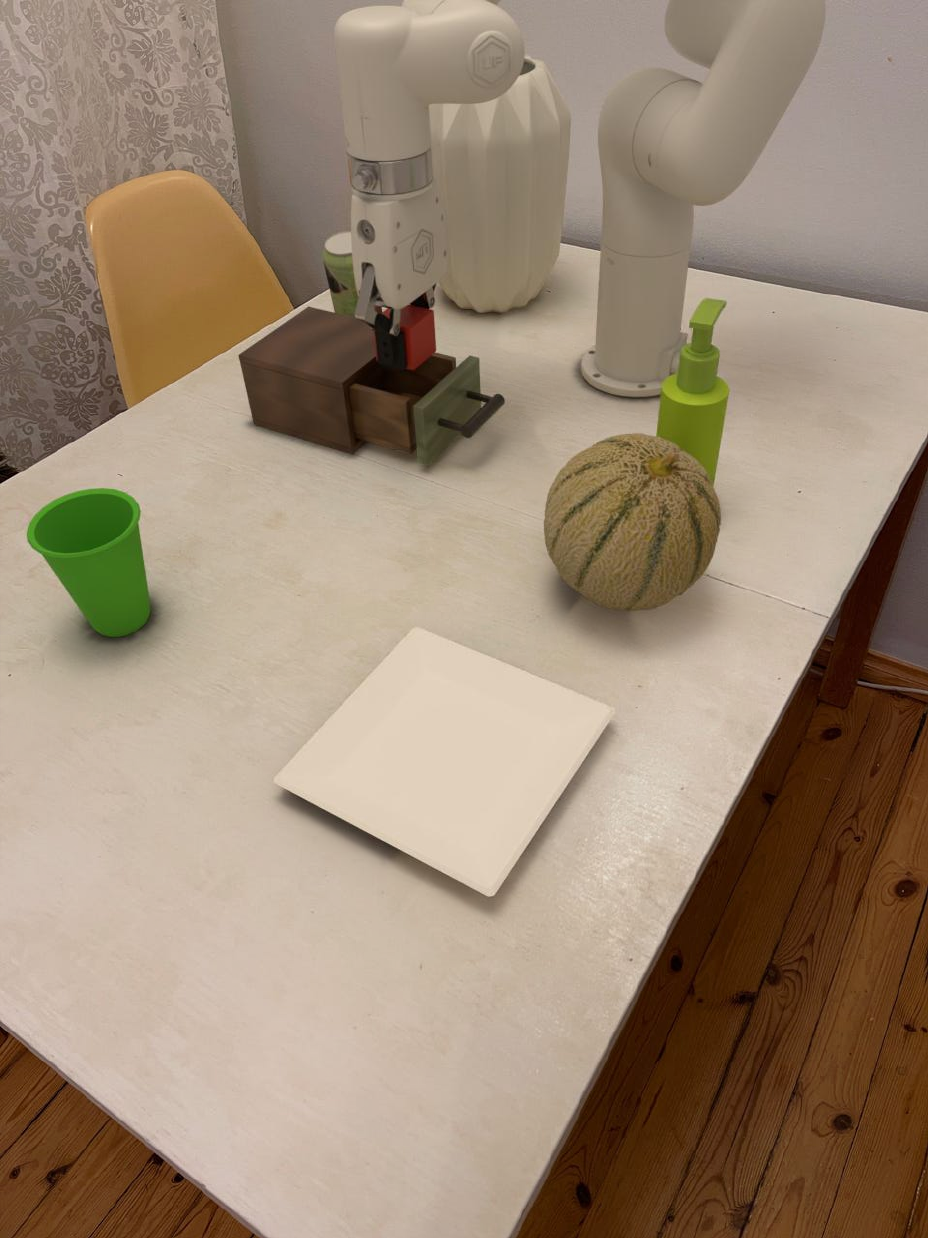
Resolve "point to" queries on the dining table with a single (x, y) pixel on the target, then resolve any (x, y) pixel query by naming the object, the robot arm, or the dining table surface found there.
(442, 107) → the vase
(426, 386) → the drawer
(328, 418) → the cabinet
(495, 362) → the dining table surface
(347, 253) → the beverage can
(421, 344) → the block
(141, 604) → the cup
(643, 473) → the cantaloupe
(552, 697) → the plate
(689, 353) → the soap dispenser
